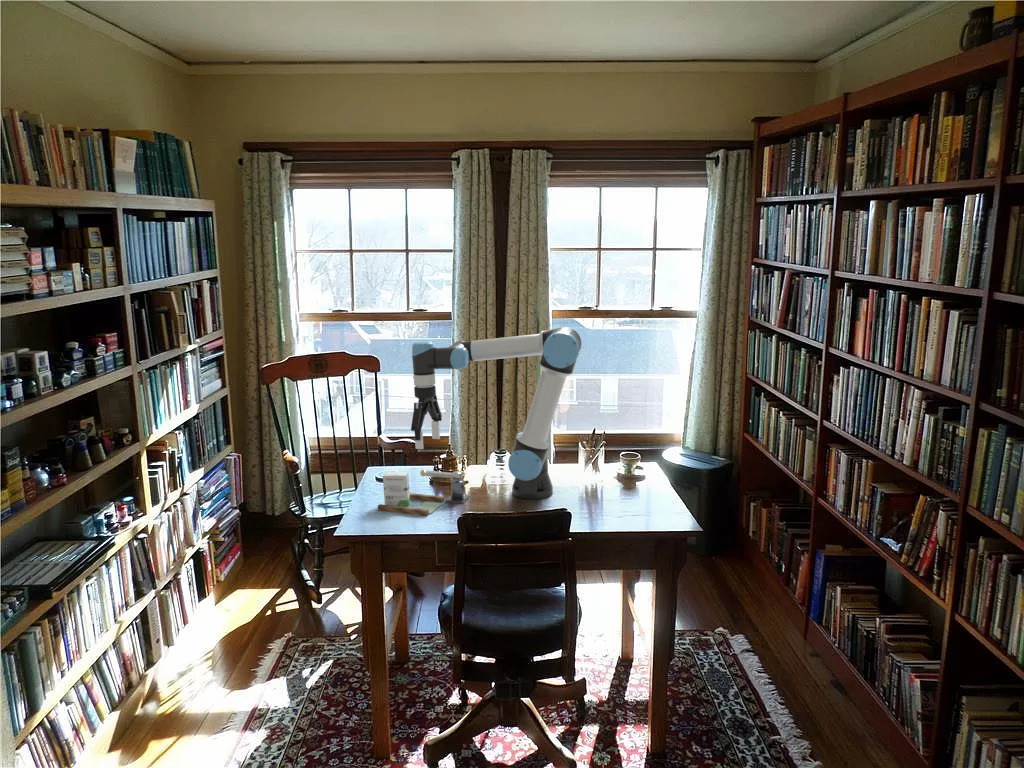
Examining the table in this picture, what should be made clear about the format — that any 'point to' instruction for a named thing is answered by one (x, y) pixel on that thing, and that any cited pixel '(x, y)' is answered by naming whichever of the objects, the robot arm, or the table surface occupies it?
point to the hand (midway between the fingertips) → (428, 443)
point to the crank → (442, 474)
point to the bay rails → (408, 509)
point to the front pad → (430, 506)
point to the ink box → (396, 489)
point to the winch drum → (458, 492)
